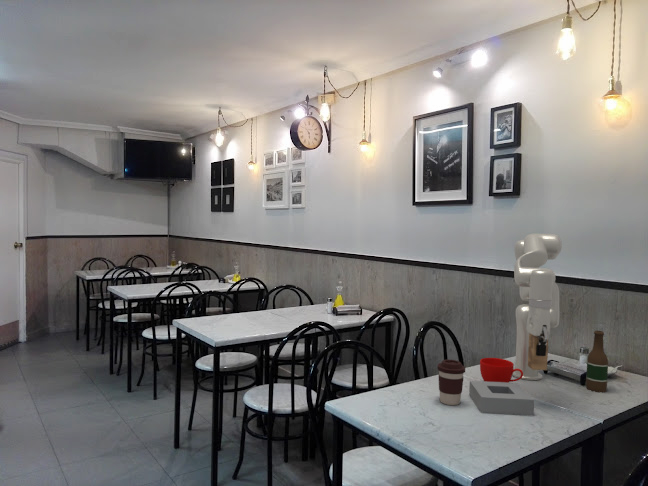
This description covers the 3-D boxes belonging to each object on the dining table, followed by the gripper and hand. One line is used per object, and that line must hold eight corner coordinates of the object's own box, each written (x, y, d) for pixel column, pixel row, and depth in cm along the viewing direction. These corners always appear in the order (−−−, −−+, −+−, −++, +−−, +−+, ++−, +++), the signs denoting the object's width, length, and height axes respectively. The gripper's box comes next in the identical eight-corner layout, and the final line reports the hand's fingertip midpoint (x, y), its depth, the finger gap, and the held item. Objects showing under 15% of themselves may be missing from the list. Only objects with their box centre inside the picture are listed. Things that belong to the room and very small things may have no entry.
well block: (469, 394, 191) (469, 380, 191) (516, 397, 190) (517, 383, 190) (480, 412, 173) (481, 397, 173) (533, 415, 172) (534, 399, 172)
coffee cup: (464, 408, 177) (466, 366, 176) (436, 405, 179) (438, 364, 178) (462, 398, 186) (464, 359, 186) (435, 396, 188) (437, 357, 188)
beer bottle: (611, 393, 198) (614, 333, 197) (591, 392, 198) (594, 333, 197) (600, 386, 205) (603, 329, 204) (581, 386, 206) (584, 328, 204)
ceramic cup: (517, 396, 191) (518, 370, 190) (474, 386, 201) (475, 362, 201) (526, 388, 201) (527, 363, 201) (485, 379, 211) (486, 355, 211)
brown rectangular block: (527, 365, 183) (529, 328, 183) (541, 366, 183) (543, 328, 183) (532, 369, 178) (534, 331, 178) (546, 370, 178) (548, 331, 178)
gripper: (521, 300, 188) (518, 347, 189) (538, 307, 171) (536, 359, 172) (541, 300, 188) (538, 348, 189) (560, 308, 171) (558, 360, 172)
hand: (537, 353), depth 180 cm, fingers closed on brown rectangular block, 5 cm apart
